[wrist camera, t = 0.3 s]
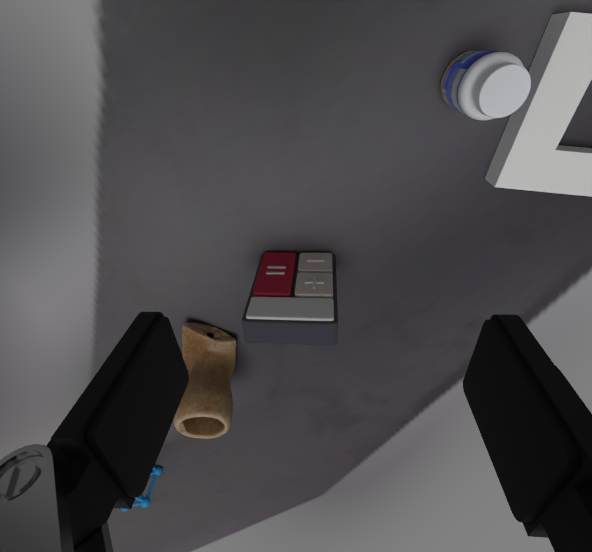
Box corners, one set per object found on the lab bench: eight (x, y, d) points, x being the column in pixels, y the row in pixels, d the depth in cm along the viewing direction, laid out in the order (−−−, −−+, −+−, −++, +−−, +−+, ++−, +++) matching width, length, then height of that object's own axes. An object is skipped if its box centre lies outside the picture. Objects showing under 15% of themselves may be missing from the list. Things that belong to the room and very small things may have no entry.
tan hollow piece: (242, 380, 68) (224, 455, 55) (185, 369, 67) (153, 442, 55) (252, 329, 59) (233, 403, 47) (186, 315, 58) (149, 387, 46)
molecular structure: (140, 473, 96) (123, 513, 88) (114, 457, 92) (93, 498, 84) (165, 467, 93) (149, 508, 85) (139, 450, 88) (120, 492, 80)
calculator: (335, 249, 48) (338, 319, 36) (334, 273, 51) (337, 346, 39) (261, 249, 49) (239, 316, 37) (264, 272, 52) (244, 343, 39)
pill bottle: (500, 49, 33) (554, 50, 26) (485, 108, 37) (528, 125, 29) (445, 51, 34) (481, 53, 26) (434, 109, 37) (463, 127, 29)
